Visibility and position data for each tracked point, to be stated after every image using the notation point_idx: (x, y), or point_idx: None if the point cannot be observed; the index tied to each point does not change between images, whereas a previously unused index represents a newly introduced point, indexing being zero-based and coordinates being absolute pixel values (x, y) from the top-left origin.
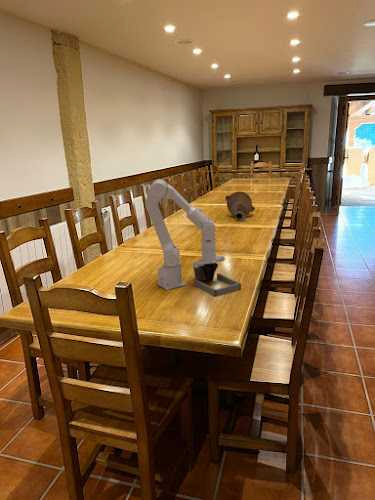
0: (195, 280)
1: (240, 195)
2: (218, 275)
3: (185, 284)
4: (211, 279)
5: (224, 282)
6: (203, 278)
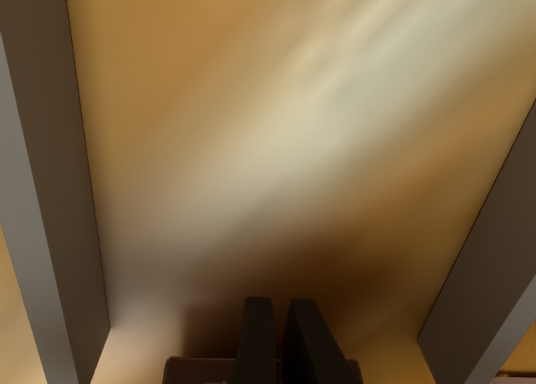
0: (486, 382)
1: None
2: (84, 358)
3: (500, 382)
4: (270, 315)
5: (91, 192)
6: None
